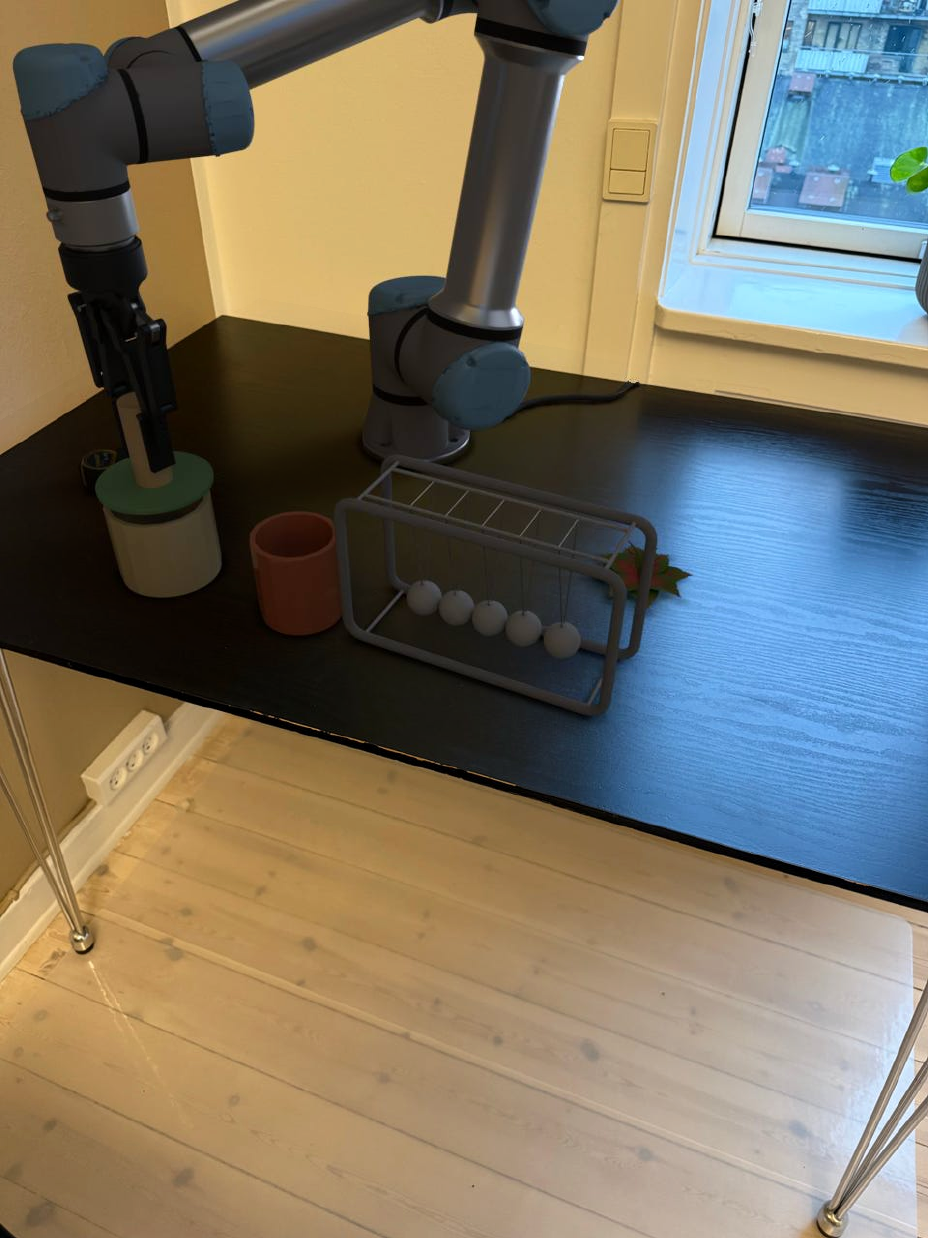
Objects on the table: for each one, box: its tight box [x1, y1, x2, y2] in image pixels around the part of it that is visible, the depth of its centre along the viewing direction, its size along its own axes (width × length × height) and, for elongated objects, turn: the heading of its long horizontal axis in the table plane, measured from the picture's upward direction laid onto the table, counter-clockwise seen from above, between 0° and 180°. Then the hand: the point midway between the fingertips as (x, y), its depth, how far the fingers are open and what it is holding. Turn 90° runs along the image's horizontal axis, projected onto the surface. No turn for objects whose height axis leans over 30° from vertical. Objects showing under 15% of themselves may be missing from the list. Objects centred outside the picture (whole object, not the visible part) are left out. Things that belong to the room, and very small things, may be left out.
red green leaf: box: [599, 539, 694, 610], centre depth 110 cm, size 12×12×5 cm
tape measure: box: [77, 446, 127, 492], centre depth 126 cm, size 7×7×4 cm
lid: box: [94, 391, 215, 515], centre depth 102 cm, size 13×13×11 cm
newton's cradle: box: [332, 455, 658, 717], centre depth 96 cm, size 30×10×18 cm, turn 64°
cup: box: [249, 510, 342, 636], centre depth 104 cm, size 9×9×10 cm
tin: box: [102, 489, 223, 599], centre depth 110 cm, size 11×11×10 cm
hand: (150, 459), depth 104 cm, fingers closed on lid, 4 cm apart
